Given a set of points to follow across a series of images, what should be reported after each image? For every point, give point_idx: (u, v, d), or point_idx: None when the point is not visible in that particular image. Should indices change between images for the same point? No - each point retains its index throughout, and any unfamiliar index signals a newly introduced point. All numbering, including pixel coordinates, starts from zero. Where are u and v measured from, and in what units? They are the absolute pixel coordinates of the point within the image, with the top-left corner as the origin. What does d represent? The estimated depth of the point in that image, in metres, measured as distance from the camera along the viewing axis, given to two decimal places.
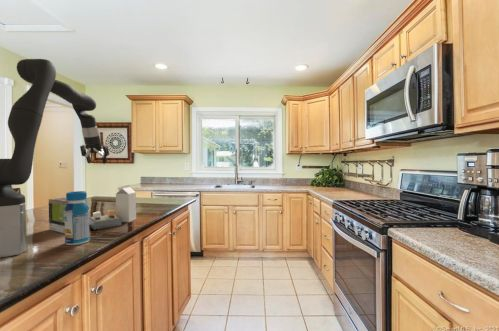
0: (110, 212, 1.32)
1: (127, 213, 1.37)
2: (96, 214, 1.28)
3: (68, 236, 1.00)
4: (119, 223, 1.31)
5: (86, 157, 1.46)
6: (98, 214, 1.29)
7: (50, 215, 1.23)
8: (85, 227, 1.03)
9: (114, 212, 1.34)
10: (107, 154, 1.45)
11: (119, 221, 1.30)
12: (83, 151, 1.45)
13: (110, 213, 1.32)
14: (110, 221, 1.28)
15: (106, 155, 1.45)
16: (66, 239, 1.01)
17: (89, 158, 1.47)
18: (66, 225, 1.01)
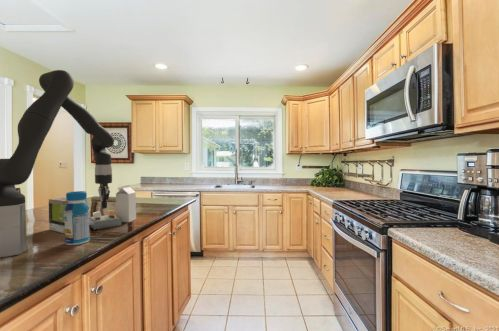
0: (110, 212, 1.32)
1: (127, 213, 1.37)
2: (96, 214, 1.28)
3: (68, 236, 1.00)
4: (119, 223, 1.31)
5: None
6: (98, 214, 1.29)
7: (50, 215, 1.23)
8: (85, 227, 1.03)
9: (114, 212, 1.34)
10: (104, 199, 1.29)
11: (119, 221, 1.30)
12: None
13: (110, 213, 1.32)
14: (110, 221, 1.28)
15: (102, 199, 1.29)
16: (66, 239, 1.01)
17: None
18: (66, 225, 1.01)
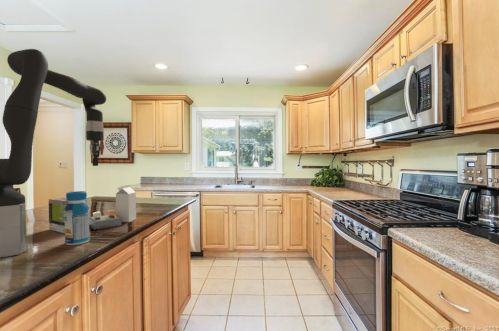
0: (110, 212, 1.32)
1: (127, 213, 1.37)
2: (96, 214, 1.28)
3: (68, 236, 1.00)
4: (119, 223, 1.31)
5: None
6: (98, 214, 1.29)
7: (50, 215, 1.23)
8: (85, 227, 1.03)
9: (114, 212, 1.34)
10: (95, 155, 1.28)
11: (119, 221, 1.30)
12: None
13: (110, 213, 1.32)
14: (110, 221, 1.28)
15: (93, 156, 1.28)
16: (66, 239, 1.01)
17: None
18: (66, 225, 1.01)
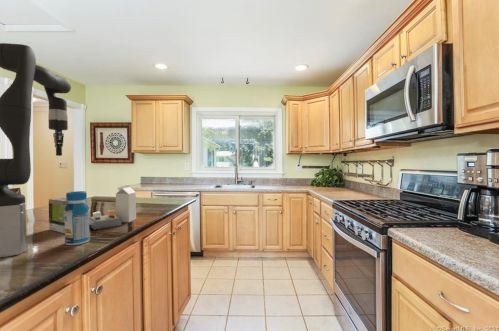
0: (110, 212, 1.32)
1: (127, 213, 1.37)
2: (96, 214, 1.28)
3: (68, 236, 1.00)
4: (119, 223, 1.31)
5: None
6: (98, 214, 1.29)
7: (50, 215, 1.23)
8: (85, 227, 1.03)
9: (114, 212, 1.34)
10: (58, 145, 1.25)
11: (119, 221, 1.30)
12: None
13: (110, 213, 1.32)
14: (110, 221, 1.28)
15: (56, 145, 1.25)
16: (66, 239, 1.01)
17: None
18: (66, 225, 1.01)
